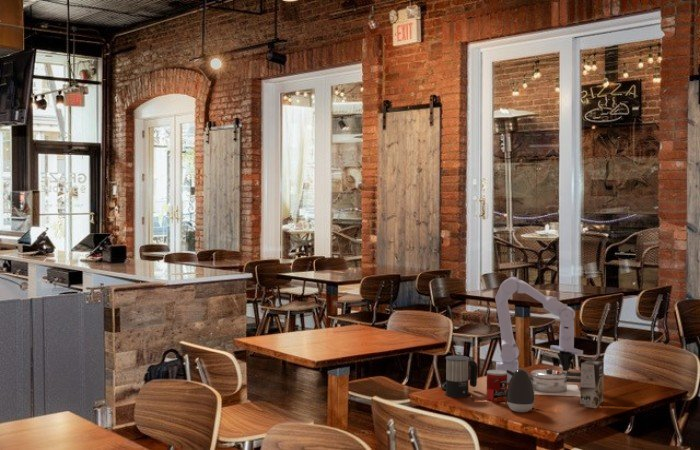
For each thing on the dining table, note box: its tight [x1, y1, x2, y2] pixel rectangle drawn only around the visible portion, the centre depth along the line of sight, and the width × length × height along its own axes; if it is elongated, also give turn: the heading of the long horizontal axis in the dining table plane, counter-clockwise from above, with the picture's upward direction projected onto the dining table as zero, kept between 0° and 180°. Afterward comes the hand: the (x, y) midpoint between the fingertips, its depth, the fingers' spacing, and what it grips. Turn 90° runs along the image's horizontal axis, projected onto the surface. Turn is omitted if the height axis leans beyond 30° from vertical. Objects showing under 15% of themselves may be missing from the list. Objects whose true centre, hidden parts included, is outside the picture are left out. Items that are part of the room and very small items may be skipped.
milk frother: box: [440, 355, 479, 399], centre depth 326 cm, size 14×16×15 cm
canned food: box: [486, 369, 508, 404], centre depth 314 cm, size 8×8×11 cm
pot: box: [529, 374, 581, 393], centre depth 329 cm, size 25×14×6 cm, turn 81°
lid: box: [530, 368, 581, 379], centre depth 329 cm, size 22×14×2 cm, turn 79°
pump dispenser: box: [505, 368, 536, 413], centre depth 299 cm, size 10×10×15 cm
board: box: [534, 384, 581, 397], centre depth 330 cm, size 20×20×1 cm
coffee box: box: [579, 359, 605, 409], centre depth 309 cm, size 9×6×16 cm
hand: (565, 370), depth 336 cm, fingers closed
